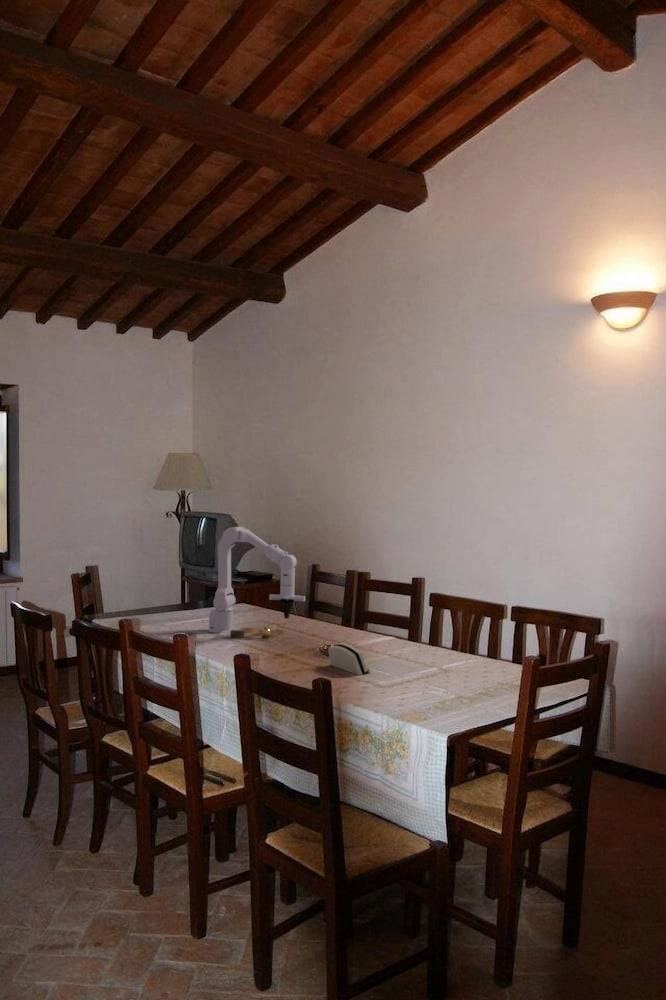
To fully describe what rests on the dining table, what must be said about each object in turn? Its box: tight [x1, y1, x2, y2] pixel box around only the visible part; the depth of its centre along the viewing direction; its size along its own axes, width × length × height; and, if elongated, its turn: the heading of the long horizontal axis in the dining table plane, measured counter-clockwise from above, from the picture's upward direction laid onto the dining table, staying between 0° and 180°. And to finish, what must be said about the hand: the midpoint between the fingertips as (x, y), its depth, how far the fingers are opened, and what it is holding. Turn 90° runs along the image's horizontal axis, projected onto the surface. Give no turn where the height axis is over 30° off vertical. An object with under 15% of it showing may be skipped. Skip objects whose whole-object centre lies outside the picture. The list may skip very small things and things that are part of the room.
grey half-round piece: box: [327, 642, 371, 676], centre depth 287 cm, size 17×5×10 cm, turn 36°
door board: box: [225, 627, 287, 642], centre depth 337 cm, size 19×23×4 cm
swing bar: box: [261, 623, 277, 637], centre depth 337 cm, size 14×3×3 cm, turn 170°
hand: (286, 618), depth 338 cm, fingers closed
